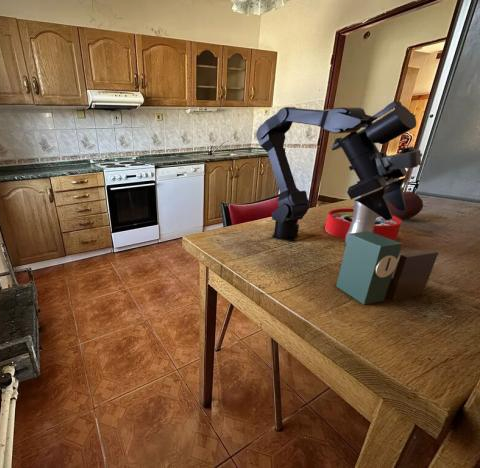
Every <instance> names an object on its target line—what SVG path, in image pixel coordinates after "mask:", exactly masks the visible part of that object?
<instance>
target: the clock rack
mask: <svg viewBox="0 0 480 468" xmlns="http://www.w3.org/2000/svg"><path fill="white" fill-rule="evenodd" d="M438 255H439V251H437V250H434V249H428V250H423V251H415V252H409V253H402V254H399V257H398V260H397V265H396V268H395V269H394V271H393V274H392V277H391V280H390V283H389V286H388V289H387V292H386V295H385V298H388V299H389V300H392V301H397V300H400V299H406V298H411V297H416V296H422V295H423V294H424V292H425V289H426V286H427V284H428V282H429V278H430V276H431V274H432V271H433V269H434V266H435V263H436V261H437V259H438Z"/></svg>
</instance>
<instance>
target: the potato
mask: <svg viewBox="0 0 480 468" xmlns="http://www.w3.org/2000/svg"><path fill="white" fill-rule="evenodd" d="M403 197H404V202H405V207H406V209H405V210H402V211H399V210H398V209H397V208H396V207H394V206H393V205H392V204H391V203H390V202H389V201H388V200H387V203H388V205H389V208H390V211H391V214H392V215H393V216H395V217H397V218H399V219H401V220H407V219H411V218H414V217H415V216H417V215H419V213H421V211H422V210H423V207H424V203H423V200H422V198H421V197H420V196H419V195H418V194H417V193H415V192H411V191H403Z"/></svg>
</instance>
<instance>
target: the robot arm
mask: <svg viewBox="0 0 480 468" xmlns="http://www.w3.org/2000/svg"><path fill="white" fill-rule="evenodd" d="M293 123H296V124H304V125H309V126H310V125H311V126H317V127H320V128H321V129H322V130H324V131H327V132H329V133H332V134H346V135H345V136H344V137H337V138H335V139H334V142H333V144H332V146H331V151H336V150H339V149H342V151H343V153H344V155H345V157H346V158H347V160H348V162H349V164H350V166H348V169H349V171H354V172H355V174H356V176H357V178H358V181H356V183H355V184H352V185H350V186H349V187H348V189H347V191H346V193H347V195H348V197H349V199H350V200H354V198H356V197H359V196H361V197H359V198H357V199H355V201H358V202H359V203H361V204H363V205H364V206H366V207H367V208H369V209H371V210H372V211H374V212H375V213H377V214H378V215H379V216H381V217H382V218H384V219H385V220H390V219H392V214H391V211H390V208H389V205H388V203H387V200H388V201H389V202H390V203H391V204H392V205H393V206H394V207H396V208H397V209H398V210H399V211H402V210H405V209H406V207H405V202H404V197H403V192H404V191H403V185H404V183H405V182H406V180H407V179H408V176H407V175H409V173H408V171H407V170H406V169H413V168H417V167H419V166H421V165H422V157H423V154H422V152H421V150H420V149H416V148H415V147H414V146H409V147H403V148H402V149H400V152H399V153H396V154H391V155H387V153H386V151H382V150H381V151H379V149H378V147H377V144H380V145H385V144H387V143H390V142H391V141H393V140H395V139H397V138H398V137H401V136H402V135H404V134H406V133H407V132H409V131H411V130H413V129H415V128H416V127H417V119H416V117H415V114H414V113H413V112H411V111H410V110H409V109H408V108H407V107H406V106H404V105H403V104H402V102H401V101H399V100H393V101H392V102H390V103H388V104H387V105H386V106H385V107H384V108H383V109H381V110H379V111H378V112H377V113H375V114H373V115H369V114H367V113H366V112H365V109H364V108H363V107H335V108H328V109H324V110H323V109H314V108H313V109H311V108H298V107H296V106H284V107H282V108H280V109H279V110H278V111H277V112H276V113H275V114H274V115H272V116H271V117H269V118H268V119H266V120H265V121H264V122H263V123H262V124H260V125H259V126H258V128H257V130H256V133H255V138H256V140H257V142H258V144H259V147H261V148H262V149H263V150H264V151H265V152H266V153H267V155H268V158H269V159H268V160H269V163H270V165H271V168H272V169H271V170H272V171H273V175H274V178H275V181H276V185H277V187H278V191H279V195H278V199H277V206H278V207H277V208H276V209H274V210H273V211H272V212H271V213H270V214H271V220H273V221H275V223H274V230H273V231H274V232H273V235H272V236H271V237H272V238H273V239H278V240H284V241H288V242H293V241H294V240H295V239H296V238H298V236H299V235H298V234H299V231H300V230H299V228H300V224H299V220H303V219H304V216H305V215H306V214H307V213H308V211H309V209H310V205H309V204H310V203H311V201H310V200H309V199H308V194H307V191H306V190H300V189H299V188H298V187H297V185H296V182H295V179H294V176H293V172H292V170H291V167H290V164H289V161H288V157H287V154H286V152H285V151H286V150H285V148H284V145H285V141H286V133H288V131H290V130H291V127H292V125H293ZM362 128H363V129H362Z"/></svg>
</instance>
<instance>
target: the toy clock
mask: <svg viewBox="0 0 480 468" xmlns="http://www.w3.org/2000/svg"><path fill="white" fill-rule="evenodd" d="M353 210H354V207H353V208H352V207H351V208H349V207H348V208H347V207H346V208H345V207H344V208H343V207H342V208H334V209H330V210H329V211H328V213H327V218H326V222H325V227H324V230H325V231H326V232H327V233H328V234H329V235H331V236H334V237H336V238H339V239H342V240H345V237H346V234H347V232H348V231H349V228H350V225H351V222H352V217H353ZM402 222H403V221H402V219H399V218H397V217H395V216H393V215H392V219H390V220H385V219H384V218H382V217H381V216H379V215H377V218H376V220H375V224H374V230H373V233H375V234H378V235H380V236H383V237H386V238H389V239H391V240H394V241H397V239H398V235H399V232H400V229H401V227H402Z"/></svg>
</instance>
